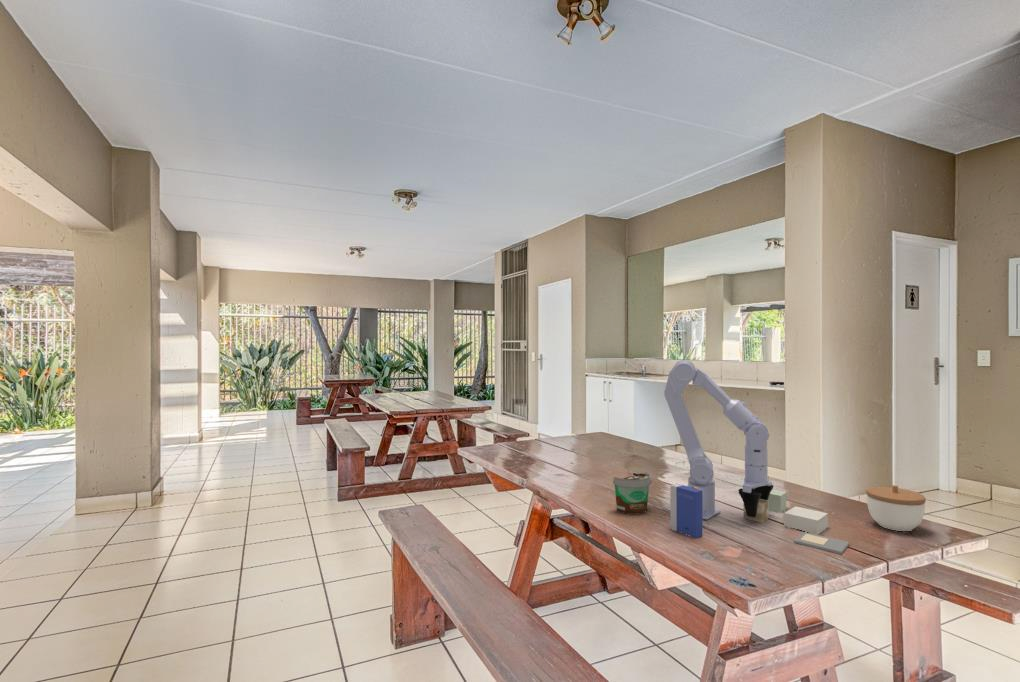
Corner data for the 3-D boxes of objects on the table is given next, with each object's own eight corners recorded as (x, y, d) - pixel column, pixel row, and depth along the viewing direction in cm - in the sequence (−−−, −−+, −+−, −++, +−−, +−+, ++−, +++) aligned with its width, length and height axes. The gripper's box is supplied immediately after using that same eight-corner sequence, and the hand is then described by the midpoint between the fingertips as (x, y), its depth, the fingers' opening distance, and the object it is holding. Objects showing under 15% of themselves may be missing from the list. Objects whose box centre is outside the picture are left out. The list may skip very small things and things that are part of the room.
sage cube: (780, 513, 150) (780, 495, 150) (762, 509, 153) (762, 492, 153) (786, 509, 154) (786, 492, 154) (768, 505, 157) (768, 488, 157)
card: (841, 554, 121) (841, 551, 121) (793, 542, 128) (793, 539, 128) (849, 544, 127) (849, 541, 127) (803, 533, 134) (803, 531, 134)
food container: (625, 517, 146) (625, 482, 146) (612, 511, 152) (612, 476, 152) (660, 511, 151) (660, 477, 151) (647, 505, 157) (647, 472, 157)
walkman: (702, 536, 132) (702, 488, 132) (695, 538, 131) (695, 490, 131) (676, 527, 139) (676, 482, 139) (669, 529, 137) (669, 483, 137)
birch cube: (762, 523, 142) (762, 504, 142) (743, 518, 146) (743, 500, 146) (768, 518, 146) (768, 500, 146) (750, 514, 149) (750, 496, 149)
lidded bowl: (928, 527, 138) (928, 485, 138) (921, 540, 129) (921, 495, 129) (871, 516, 147) (871, 476, 147) (861, 527, 138) (861, 485, 138)
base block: (817, 536, 133) (817, 520, 133) (784, 527, 139) (784, 512, 139) (827, 528, 138) (827, 513, 138) (795, 520, 144) (795, 506, 144)
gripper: (762, 471, 138) (762, 523, 138) (780, 462, 148) (780, 510, 148) (734, 467, 142) (734, 516, 143) (754, 458, 153) (754, 504, 153)
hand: (756, 513), depth 146 cm, fingers open, 7 cm apart
